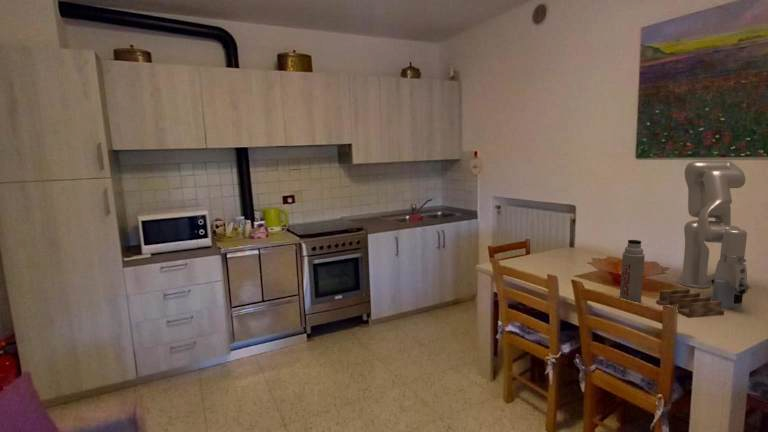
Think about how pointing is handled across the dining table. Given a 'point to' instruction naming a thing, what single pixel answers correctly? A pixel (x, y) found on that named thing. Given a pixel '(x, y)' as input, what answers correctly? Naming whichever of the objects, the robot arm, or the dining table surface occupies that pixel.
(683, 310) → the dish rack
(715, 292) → the grey square block
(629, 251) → the thermos bottle
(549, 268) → the dining table surface
